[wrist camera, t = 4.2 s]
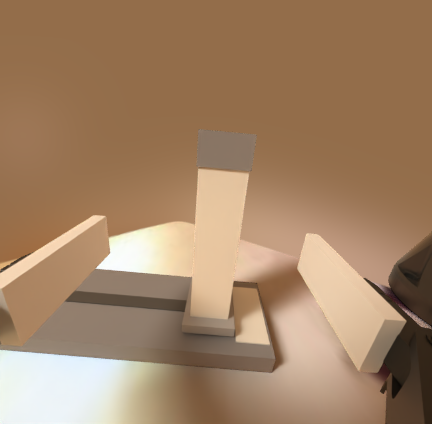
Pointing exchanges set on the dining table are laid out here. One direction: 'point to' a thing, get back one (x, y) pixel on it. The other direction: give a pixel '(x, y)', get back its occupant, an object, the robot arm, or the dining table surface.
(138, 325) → the switch board
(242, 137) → the lever
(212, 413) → the dining table surface
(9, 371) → the dining table surface
